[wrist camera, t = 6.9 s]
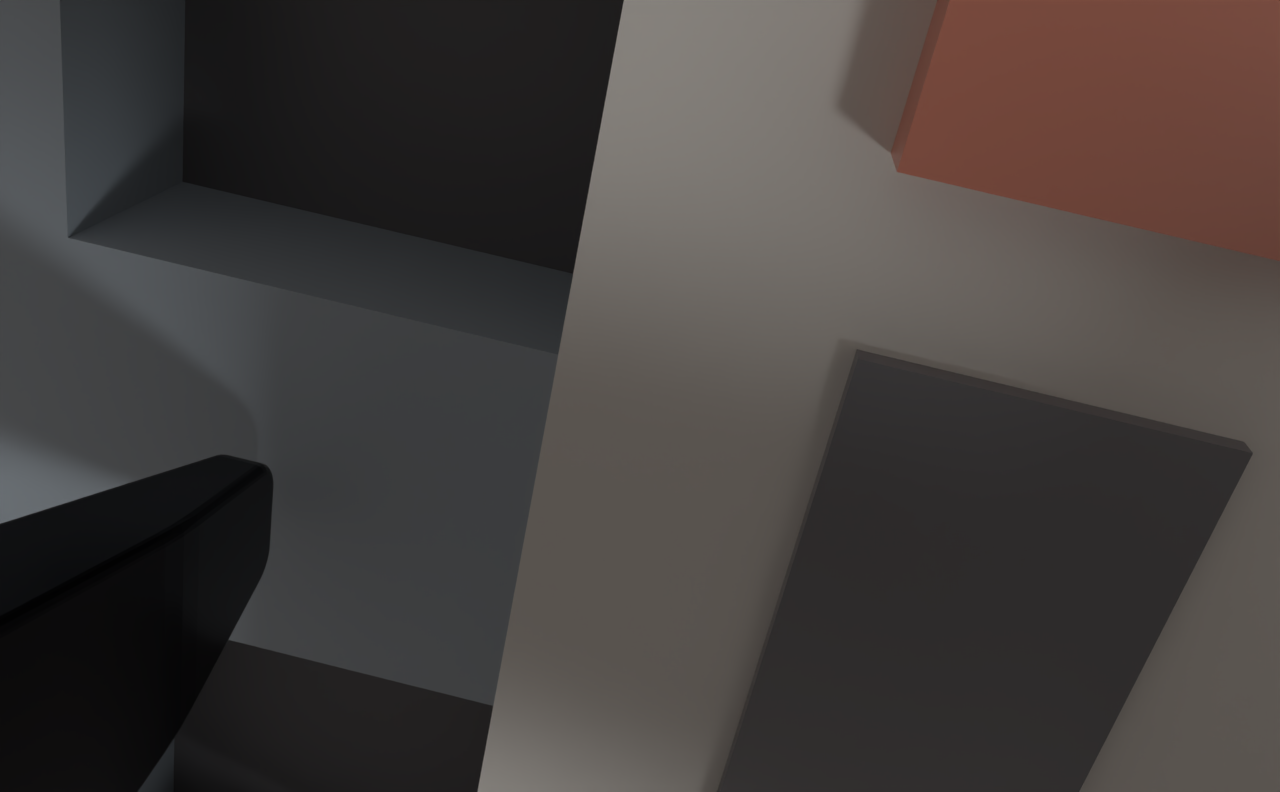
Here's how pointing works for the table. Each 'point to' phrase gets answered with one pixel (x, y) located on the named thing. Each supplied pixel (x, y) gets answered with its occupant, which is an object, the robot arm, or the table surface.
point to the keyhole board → (306, 333)
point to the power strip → (914, 409)
